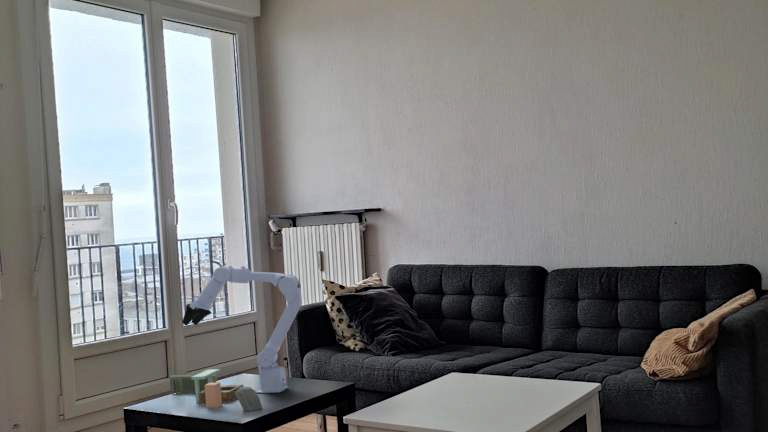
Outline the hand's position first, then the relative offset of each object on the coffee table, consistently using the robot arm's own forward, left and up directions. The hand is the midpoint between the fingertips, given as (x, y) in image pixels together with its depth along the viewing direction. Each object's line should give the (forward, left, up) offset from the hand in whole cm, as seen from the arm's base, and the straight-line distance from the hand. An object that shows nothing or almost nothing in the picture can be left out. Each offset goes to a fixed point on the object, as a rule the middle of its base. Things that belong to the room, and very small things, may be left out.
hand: (189, 323), depth 299 cm
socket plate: (-13, +4, -27) cm, 31 cm away
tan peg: (-16, +16, -27) cm, 36 cm away
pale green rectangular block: (-8, +4, -27) cm, 29 cm away
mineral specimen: (-32, +22, -28) cm, 48 cm away
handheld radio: (+2, -8, -28) cm, 29 cm away
